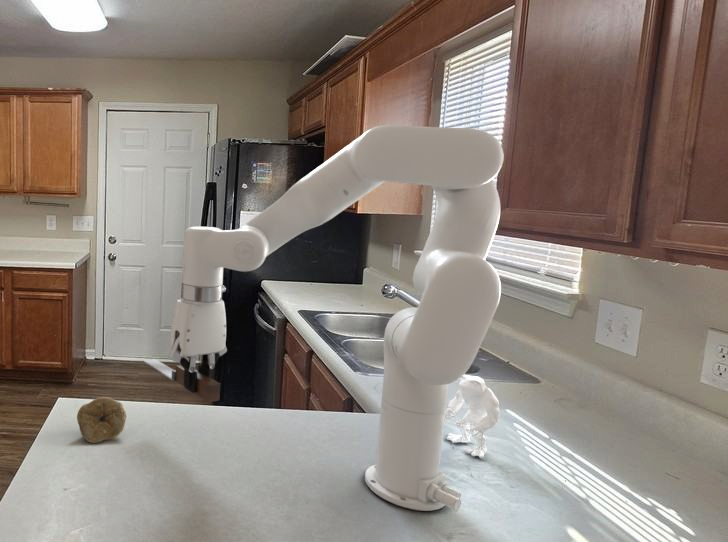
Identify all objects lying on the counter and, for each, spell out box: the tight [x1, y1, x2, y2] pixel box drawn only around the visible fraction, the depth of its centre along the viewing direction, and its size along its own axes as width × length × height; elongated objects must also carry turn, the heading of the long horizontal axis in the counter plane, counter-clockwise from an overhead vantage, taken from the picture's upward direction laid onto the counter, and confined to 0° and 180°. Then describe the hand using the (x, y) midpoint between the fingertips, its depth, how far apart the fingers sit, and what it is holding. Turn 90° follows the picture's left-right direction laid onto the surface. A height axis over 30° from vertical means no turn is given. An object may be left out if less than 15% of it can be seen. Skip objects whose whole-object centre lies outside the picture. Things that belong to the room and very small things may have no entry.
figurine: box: [444, 373, 501, 460], centre depth 100 cm, size 11×7×15 cm, turn 7°
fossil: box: [76, 396, 127, 444], centre depth 102 cm, size 9×4×10 cm
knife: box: [143, 358, 221, 404], centre depth 99 cm, size 23×3×3 cm, turn 30°
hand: (197, 388), depth 94 cm, fingers closed on knife, 2 cm apart
